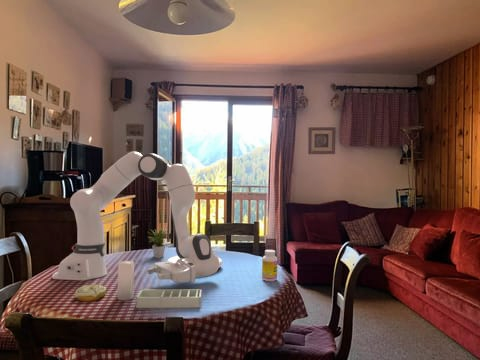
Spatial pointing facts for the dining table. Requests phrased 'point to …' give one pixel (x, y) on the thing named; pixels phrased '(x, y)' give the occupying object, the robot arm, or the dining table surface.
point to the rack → (169, 298)
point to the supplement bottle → (269, 266)
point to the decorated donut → (90, 292)
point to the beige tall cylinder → (125, 280)
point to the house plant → (158, 244)
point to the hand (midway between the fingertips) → (152, 274)
